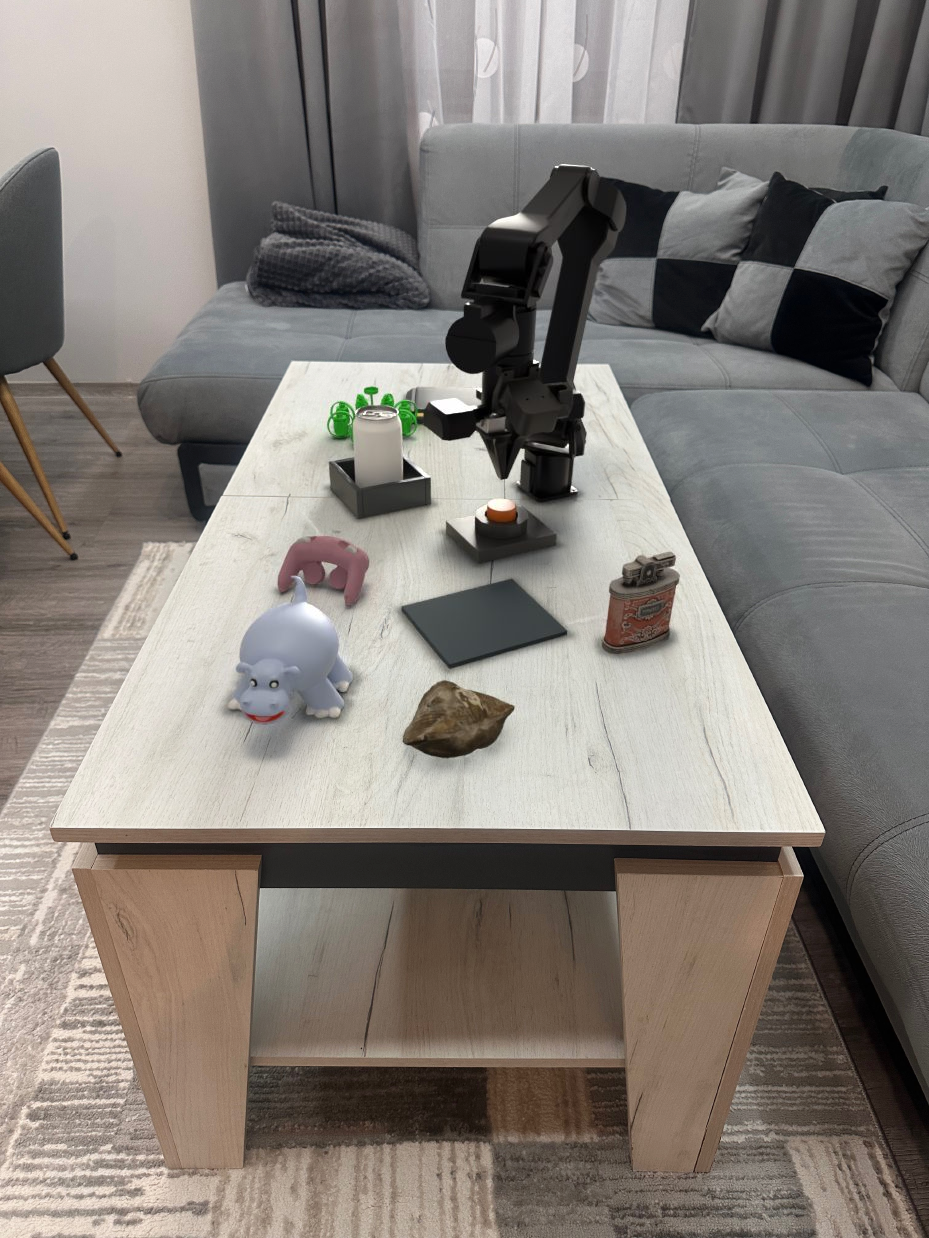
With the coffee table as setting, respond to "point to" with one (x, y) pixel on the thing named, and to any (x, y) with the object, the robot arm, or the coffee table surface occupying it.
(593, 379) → the coffee table surface
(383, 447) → the can
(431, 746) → the fossilized seashell
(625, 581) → the lighter
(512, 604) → the mat
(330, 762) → the coffee table surface
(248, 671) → the hippopotamus toy
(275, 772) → the coffee table surface
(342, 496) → the box
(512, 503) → the button
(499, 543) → the button box
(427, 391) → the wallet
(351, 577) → the video game controller
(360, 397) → the chandelier
